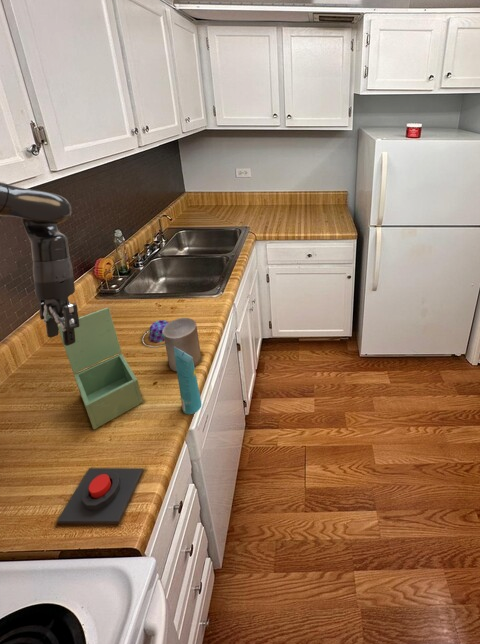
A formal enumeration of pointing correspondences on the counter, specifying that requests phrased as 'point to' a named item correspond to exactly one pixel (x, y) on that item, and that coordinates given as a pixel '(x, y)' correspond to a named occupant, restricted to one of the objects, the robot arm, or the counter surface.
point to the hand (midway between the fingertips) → (61, 340)
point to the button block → (102, 498)
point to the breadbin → (108, 390)
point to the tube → (187, 382)
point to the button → (100, 486)
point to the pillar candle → (182, 340)
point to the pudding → (157, 332)
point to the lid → (92, 340)
